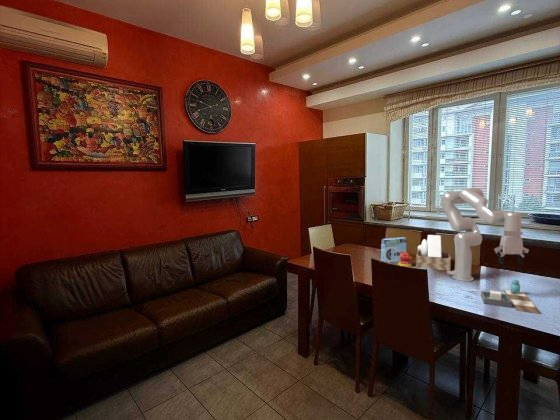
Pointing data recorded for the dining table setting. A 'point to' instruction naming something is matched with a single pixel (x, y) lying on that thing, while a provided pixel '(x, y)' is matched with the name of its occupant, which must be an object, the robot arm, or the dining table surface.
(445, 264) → the dish corral
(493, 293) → the die
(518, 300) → the board
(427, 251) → the butter dish
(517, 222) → the robot arm
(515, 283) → the pawn
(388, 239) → the gum box
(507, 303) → the tray
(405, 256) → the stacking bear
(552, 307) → the dining table surface
